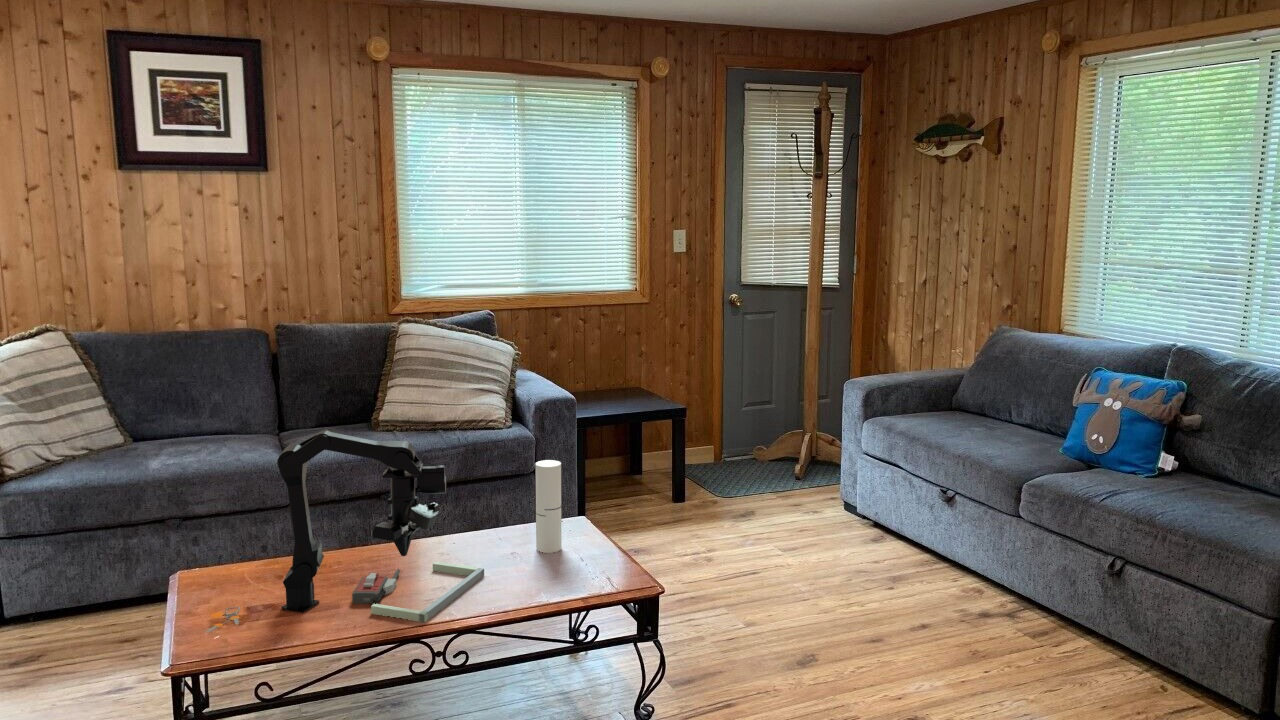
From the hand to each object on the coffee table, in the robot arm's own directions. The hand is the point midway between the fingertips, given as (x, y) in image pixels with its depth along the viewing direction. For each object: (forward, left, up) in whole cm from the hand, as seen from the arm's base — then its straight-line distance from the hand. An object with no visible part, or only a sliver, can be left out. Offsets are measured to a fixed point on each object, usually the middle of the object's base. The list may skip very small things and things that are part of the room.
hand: (403, 555), depth 234 cm
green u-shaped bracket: (+6, -4, -12) cm, 13 cm away
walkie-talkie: (+4, +10, -12) cm, 17 cm away
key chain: (-23, +34, -12) cm, 43 cm away
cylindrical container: (+45, -19, -12) cm, 50 cm away
